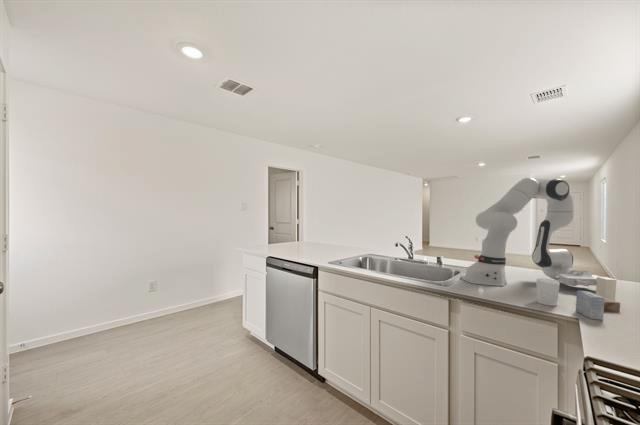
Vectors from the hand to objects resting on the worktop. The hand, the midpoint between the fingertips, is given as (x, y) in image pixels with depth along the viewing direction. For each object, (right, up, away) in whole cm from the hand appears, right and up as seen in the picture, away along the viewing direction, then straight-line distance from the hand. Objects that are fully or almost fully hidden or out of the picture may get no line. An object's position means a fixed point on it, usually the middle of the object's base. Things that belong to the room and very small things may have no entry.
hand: (597, 285), depth 130 cm
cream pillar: (0, -6, -4) cm, 7 cm away
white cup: (-34, -5, -11) cm, 36 cm away
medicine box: (-27, -6, -23) cm, 36 cm away
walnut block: (-14, -6, -13) cm, 20 cm away
